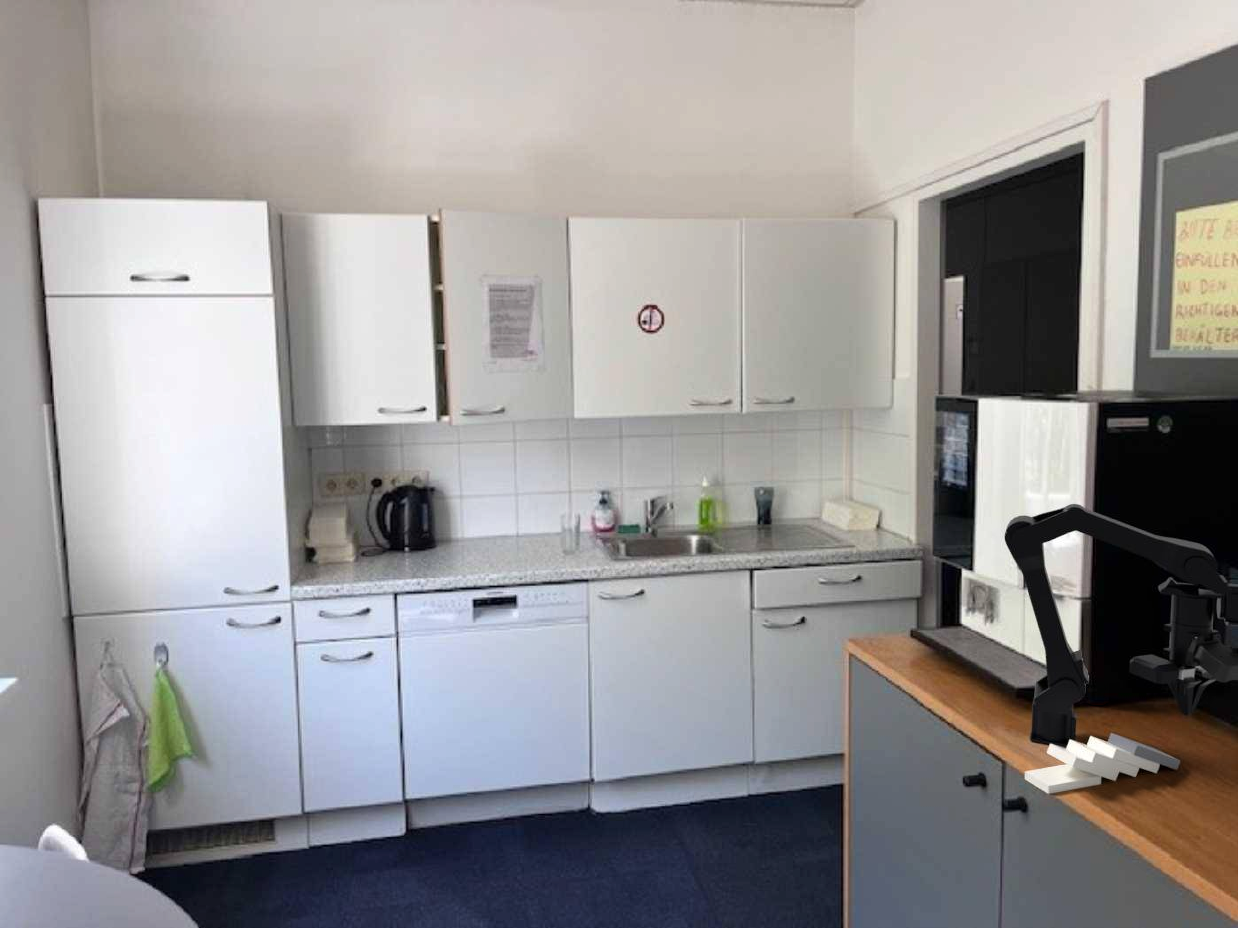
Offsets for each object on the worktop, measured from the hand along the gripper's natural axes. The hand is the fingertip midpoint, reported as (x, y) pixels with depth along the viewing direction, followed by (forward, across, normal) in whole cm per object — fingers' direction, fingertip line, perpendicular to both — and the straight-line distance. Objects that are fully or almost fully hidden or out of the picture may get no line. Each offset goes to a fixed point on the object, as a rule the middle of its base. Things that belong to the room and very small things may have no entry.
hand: (1186, 714), depth 144 cm
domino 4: (+7, -8, 0) cm, 11 cm away
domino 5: (+7, -4, 0) cm, 8 cm away
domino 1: (+7, -20, 0) cm, 21 cm away
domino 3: (+7, -12, 0) cm, 14 cm away
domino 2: (+7, -17, 0) cm, 18 cm away
